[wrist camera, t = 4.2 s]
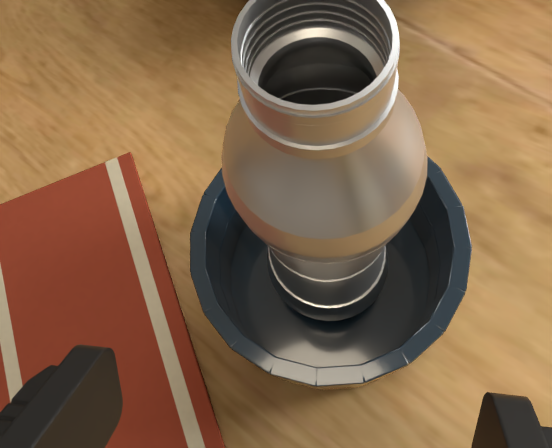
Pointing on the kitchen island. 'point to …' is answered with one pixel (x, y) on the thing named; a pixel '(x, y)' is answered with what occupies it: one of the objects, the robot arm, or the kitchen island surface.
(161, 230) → the kitchen island surface
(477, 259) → the kitchen island surface
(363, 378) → the pot
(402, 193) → the metal water bottle
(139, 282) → the towel
